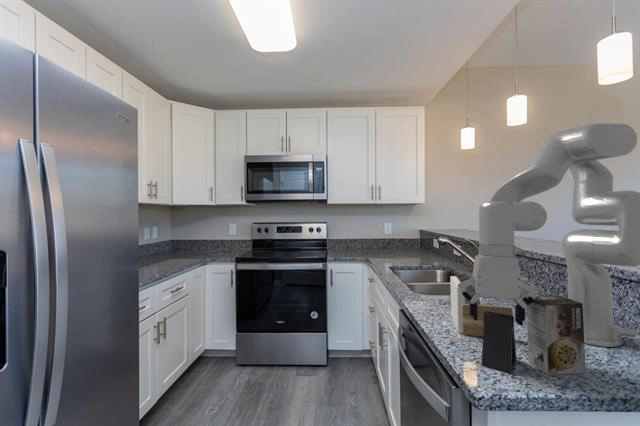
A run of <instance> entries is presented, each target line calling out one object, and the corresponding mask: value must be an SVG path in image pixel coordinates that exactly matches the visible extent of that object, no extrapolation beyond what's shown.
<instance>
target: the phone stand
mask: <svg viewBox="0 0 640 426" xmlns="http://www.w3.org/2000/svg"><path fill="white" fill-rule="evenodd" d="M481 350H482V353H481V366H483V367H485V368H489V369H493V370H497V371H499V372H504V373H506V374H510V375H511V374H512V371H513V369H514V367H515V364H516V362H517V356H518V355H517V347H516V336H515V316H514V315H512V316H511V315H505V314H499V313H494V312H488V311H485V312H484V332H483V336H482V349H481Z"/></svg>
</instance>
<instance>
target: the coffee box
mask: <svg viewBox="0 0 640 426" xmlns="http://www.w3.org/2000/svg"><path fill="white" fill-rule="evenodd" d="M526 321H527V323H526V325H527V326H526V327H527V350H528V353H527V356H528V358H527V359H528V363H529V364H530V365H532V366H533V367H535V368H536V369H538V370H540V371H541V372H543V373H544V374H545V375H547V376H557V375H558V376H559V375H575V374H576V375H577V374H586V373H587V372H586V353H585V349H586V348H585V343H584V322H583V303H580V302H576V301H574V300H572V299H569V298H568V297H566V296H561V295H554V296H553V295H550V296H548V295H547V296H536V297H535V298H534V301H533V302H532V303H531V304H530V305H528V306H527V308H526Z"/></svg>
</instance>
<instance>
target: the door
mask: <svg viewBox="0 0 640 426" xmlns="http://www.w3.org/2000/svg"><path fill="white" fill-rule="evenodd" d="M485 311H488V312H494V313H499V314H505V315H511V316H513V308H512V306H499V305H490V304H489V305H485V304H481V305H477V321H475V320H474V319H473V318H472V316H470V313H469V304H462V317H463V334H462V335H465V336H475V337H476V336H477V337H483V332H484V312H485Z"/></svg>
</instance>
